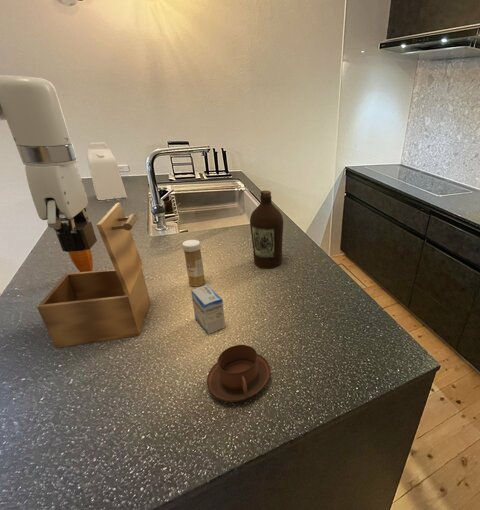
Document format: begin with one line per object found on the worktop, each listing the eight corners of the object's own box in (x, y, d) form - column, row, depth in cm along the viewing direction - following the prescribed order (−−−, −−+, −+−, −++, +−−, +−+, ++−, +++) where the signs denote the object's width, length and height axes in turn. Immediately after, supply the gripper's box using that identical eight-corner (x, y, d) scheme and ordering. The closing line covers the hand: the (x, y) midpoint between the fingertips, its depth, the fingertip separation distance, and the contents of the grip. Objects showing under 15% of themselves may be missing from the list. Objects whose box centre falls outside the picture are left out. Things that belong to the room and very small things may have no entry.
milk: (123, 192, 162) (111, 141, 151) (127, 198, 155) (114, 144, 143) (95, 195, 155) (80, 141, 143) (98, 201, 147) (81, 144, 136)
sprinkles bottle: (185, 284, 90) (178, 243, 84) (197, 277, 94) (191, 237, 88) (197, 288, 89) (190, 247, 83) (209, 281, 93) (203, 241, 87)
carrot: (73, 279, 88) (55, 231, 81) (89, 271, 93) (74, 225, 86) (87, 282, 87) (70, 234, 81) (103, 274, 92) (88, 228, 85)
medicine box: (194, 318, 77) (189, 290, 73) (212, 311, 80) (208, 283, 76) (208, 335, 72) (203, 305, 68) (226, 327, 75) (222, 298, 71)
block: (62, 251, 61) (54, 230, 59) (71, 242, 65) (64, 222, 63) (89, 249, 62) (83, 229, 60) (97, 240, 66) (91, 221, 64)
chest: (55, 348, 65) (36, 307, 61) (79, 310, 77) (65, 273, 72) (139, 335, 70) (128, 296, 66) (150, 301, 82) (141, 266, 77)
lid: (96, 224, 58) (122, 221, 59) (116, 203, 69) (138, 200, 70) (125, 295, 65) (148, 291, 67) (139, 265, 77) (158, 262, 78)
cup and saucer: (282, 381, 62) (282, 358, 59) (228, 419, 54) (225, 396, 51) (248, 350, 69) (247, 328, 66) (196, 380, 61) (192, 357, 58)
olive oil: (258, 253, 111) (255, 186, 100) (286, 257, 111) (286, 189, 99) (247, 267, 102) (242, 194, 91) (278, 271, 101) (277, 198, 90)
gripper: (45, 146, 61) (74, 231, 69) (-8, 163, 47) (37, 266, 55) (90, 147, 64) (113, 229, 72) (53, 163, 49) (87, 262, 58)
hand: (79, 244), depth 63 cm, fingers closed on block, 4 cm apart
